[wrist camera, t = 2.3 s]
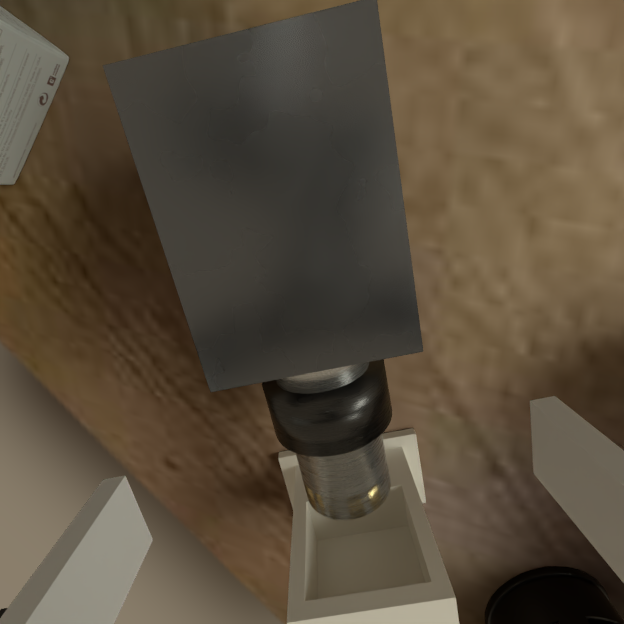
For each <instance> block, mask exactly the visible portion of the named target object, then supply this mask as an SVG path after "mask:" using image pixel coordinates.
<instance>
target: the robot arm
mask: <svg viewBox="0 0 624 624" xmlns="http://www.w3.org/2000/svg"><path fill="white" fill-rule="evenodd" d="M530 415H531V435H532V455H533V474H534V475H535V476H536V477H537V478H538V480H539V481H540V482H541V483H542V484H543V486H544V487H545V488H546V489H547V491H548V492H549V493H550V494H551V495H552V497H553V498H554V499H555V500H556V502H557V503H558V504H559V505H560V506H561V508H562V509H563V510H564V511H565V512H566V514H567V515H568V516H569V517H570V519H571V520H572V521H573V522H574V523H575V525H576V526H577V527H578V528H579V530H580V531H581V532H582V533H583V534H584V536H585V537H586V538H587V539H588V540H589V542H590V543H591V544H592V545H593V547H594V548H595V549H596V550H597V551H598V553H599V554H600V555H601V556H602V558H603V559H604V560H605V561H606V562H607V564H608V565H609V566H610V567H611V568H612V570H613V571H614V572H615V573H616V575H617V576H618V577H619V578H620V579H621V581H622V582H623V583H624V450H622V449H621V448H620V447H619V446H617V445H616V444H615V443H614V442H612V441H611V440H610V439H609V438H607V437H606V436H605V435H604V434H602V433H601V432H600V431H599V430H597V429H596V428H595V427H593V426H592V425H591V424H590V423H588V422H587V421H586V420H585V419H583V418H582V417H581V416H580V415H578V414H577V413H576V412H575V411H573V410H572V409H571V408H570V407H568V406H567V405H566V404H565V403H563V402H562V401H561V400H559V399H558V398H557V397H556V396H552V397H546V398H541V399H535V400H530ZM152 541H153V539H152V537H151V534H150V532H149V530H148V527H147V525H146V523H145V520H144V518H143V516H142V513H141V511H140V509H139V506H138V504H137V502H136V499H135V497H134V495H133V492H132V490H131V487H130V485H129V483H128V481H127V478H126V476H120V477H115V478H110V479H104V480H103V481H102V482H101V483H100V485H99V486H98V487H97V489H96V490H95V491H94V493H93V494H92V496H91V497H90V498H89V499H88V501H87V502H86V504H85V505H84V506H83V508H82V509H81V510H80V512H79V513H78V514H77V516H76V517H75V518H74V520H73V521H72V522H71V524H70V525H69V526H68V528H67V529H66V530H65V532H64V533H63V535H62V536H61V537H60V539H59V540H58V541H57V542H56V544H55V545H54V547H53V548H52V549H51V551H50V552H49V553H48V555H47V556H46V558H45V559H44V560H43V562H42V563H41V564H40V565H39V567H38V568H37V570H36V571H35V572H34V574H33V575H32V576H31V577H30V579H29V580H28V582H27V583H26V584H25V586H24V587H23V588H22V590H21V591H20V592H19V594H18V595H17V596H16V598H15V599H14V601H13V602H12V603H11V604H10V606H9V607H8V608H5V609H1V610H0V624H114V622H115V620H116V618H117V616H118V614H119V612H120V610H121V608H122V605H123V603H124V601H125V599H126V597H127V595H128V592H129V590H130V588H131V586H132V584H133V582H134V580H135V577H136V575H137V573H138V571H139V569H140V567H141V564H142V562H143V560H144V558H145V556H146V554H147V551H148V549H149V547H150V545H151V543H152Z"/></svg>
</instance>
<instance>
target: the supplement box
mask: <svg viewBox="0 0 624 624" xmlns="http://www.w3.org/2000/svg"><path fill="white" fill-rule="evenodd" d="M68 61H69V57H68V56H67V55H66V54H65V53H64V52H62V51H61V50H60V49H59V48H57V47H56V46H55V45H53V44H52V43H51V42H49V41H48V40H47V39H45V38H44V37H43V36H41V35H40V34H38V33H37V32H36V31H34V30H33V29H32V28H30V27H29V26H27V25H26V24H25V23H23V22H22V21H20V20H19V19H18V18H16V17H15V16H13V15H12V14H11V13H9V12H8V11H7V10H5V9H4V8H3V7H1V6H0V185H13V184H15V182H16V180H17V178H18V177H19V174H20V172H21V170H22V168H23V166H24V164H25V161H26V159H27V157H28V154H29V152H30V150H31V148H32V145H33V143H34V141H35V139H36V136H37V134H38V132H39V130H40V127H41V125H42V123H43V120H44V118H45V116H46V113H47V111H48V109H49V107H50V105H51V102H52V100H53V98H54V95H55V93H56V90H57V88H58V86H59V83H60V81H61V79H62V76H63V74H64V72H65V69H66V66H67V64H68Z"/></svg>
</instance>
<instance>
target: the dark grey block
mask: <svg viewBox="0 0 624 624" xmlns="http://www.w3.org/2000/svg"><path fill="white" fill-rule="evenodd" d="M103 68H104V71H105V74H106V77H107V80H108V83H109V86H110V89H111V92H112V95H113V98H114V101H115V104H116V107H117V110H118V113H119V116H120V119H121V123H122V126H123V129H124V132H125V135H126V138H127V141H128V144H129V147H130V150H131V153H132V156H133V159H134V162H135V165H136V168H137V171H138V174H139V177H140V180H141V183H142V186H143V189H144V192H145V195H146V198H147V201H148V204H149V207H150V210H151V213H152V216H153V219H154V222H155V225H156V229H157V232H158V235H159V238H160V241H161V244H162V247H163V250H164V253H165V256H166V259H167V262H168V265H169V268H170V271H171V274H172V277H173V280H174V283H175V286H176V289H177V292H178V295H179V298H180V301H181V304H182V307H183V310H184V313H185V316H186V319H187V322H188V325H189V328H190V331H191V334H192V338H193V341H194V344H195V347H196V350H197V353H198V356H199V359H200V362H201V365H202V368H203V371H204V374H205V377H206V380H207V383H208V386H209V389H210V392H215V391H220V390H225V389H230V388H235V387H241V386H246V385H251V384H256V383H261V382H267V381H272V380H277V379H282V378H287V377H293V376H298V375H303V374H308V373H314V372H319V371H324V370H329V369H334V368H340V367H345V366H350V365H355V364H360V363H366V362H371V361H376V360H381V359H386V358H392V357H397V356H402V355H407V354H413V353H418V352H423V345H422V338H421V330H420V323H419V315H418V308H417V300H416V292H415V285H414V277H413V270H412V262H411V255H410V247H409V239H408V232H407V224H406V217H405V209H404V202H403V194H402V186H401V179H400V171H399V164H398V156H397V149H396V141H395V133H394V126H393V118H392V111H391V103H390V96H389V88H388V80H387V73H386V65H385V58H384V50H383V43H382V35H381V28H380V20H379V12H378V5H377V0H360V1H357V2H353V3H349V4H345V5H341V6H337V7H333V8H329V9H325V10H321V11H317V12H313V13H309V14H305V15H301V16H297V17H293V18H289V19H285V20H281V21H277V22H273V23H269V24H265V25H262V26H258V27H254V28H250V29H246V30H242V31H238V32H234V33H230V34H226V35H222V36H218V37H214V38H210V39H206V40H202V41H198V42H194V43H190V44H186V45H182V46H178V47H174V48H170V49H166V50H163V51H159V52H155V53H151V54H147V55H143V56H139V57H135V58H131V59H127V60H123V61H119V62H115V63H111V64H107V65H103Z"/></svg>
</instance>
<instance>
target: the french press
mask: <svg viewBox="0 0 624 624" xmlns="http://www.w3.org/2000/svg"><path fill="white" fill-rule="evenodd" d="M587 618H589V620H587ZM558 622H559V623H560V624H624V621H623V619H622V618H621V617H620V615H619V614H618V613H617V611H616V610H615V608H614V607H613V606H612V604H611V603H610V601H609V598H608V596H607V593H606V591H605V590H604V588H603V587H602V586H601V585H600V584H599V582H598V581H597V580H596V579H594V578H593V577H591V576H590V575H588V574H587V573H584V572H582V571H579V570H576V569H571V568H567V567H549V568H541V569H536V570H532V571H529V572H526V573H524V574H521V575H519V576H517V577H515V578H513V579H512V580H510V581H508V582H507V583H506V584H504V585H503V586H502V587H500V588H499V589H498V591H497V592H496V593H495V594H494V595H493V596H492V598H491V600H490V601H489V603H488V605H487V609H486V612H485V623H486V624H555V623H558Z"/></svg>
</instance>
